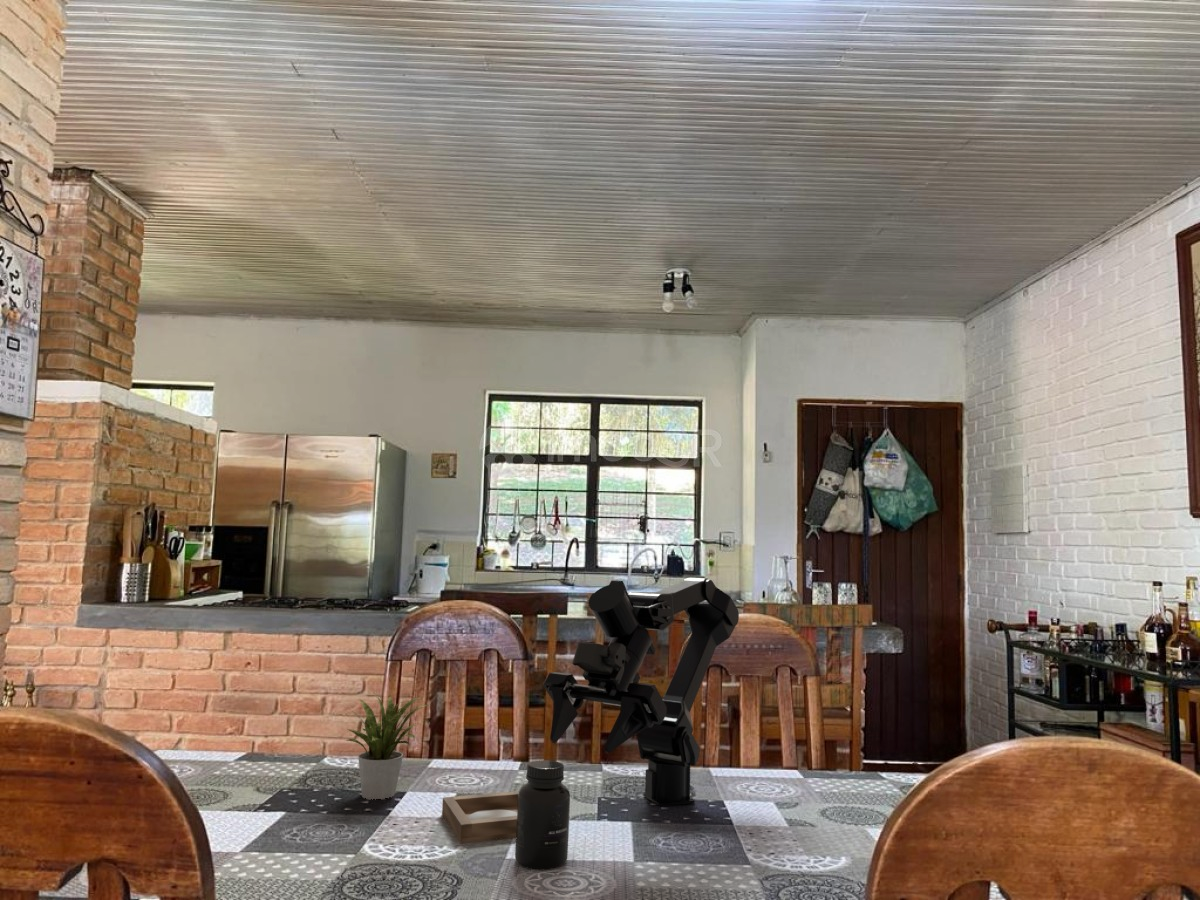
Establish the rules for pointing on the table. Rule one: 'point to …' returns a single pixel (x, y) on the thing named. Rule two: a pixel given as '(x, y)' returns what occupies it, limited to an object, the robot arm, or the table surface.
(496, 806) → the holder
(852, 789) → the table surface
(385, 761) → the house plant
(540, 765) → the supplement bottle
